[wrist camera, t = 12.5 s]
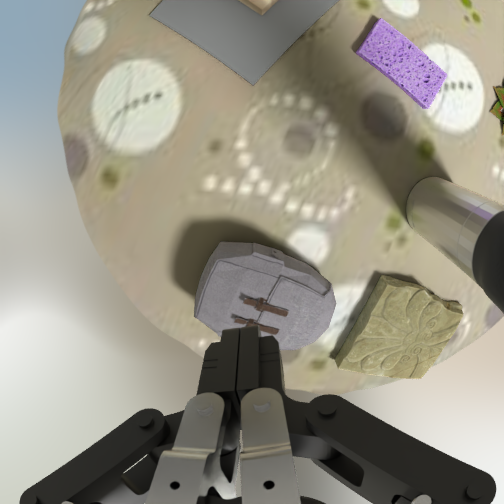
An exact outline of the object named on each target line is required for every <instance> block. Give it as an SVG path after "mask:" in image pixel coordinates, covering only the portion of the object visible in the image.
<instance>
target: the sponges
mask: <svg viewBox="0 0 504 504" xmlns="http://www.w3.org/2000/svg"><path fill="white" fill-rule="evenodd" d="M356 54H357V55H359V56H360V57H362V58H363V59H364V60H366V61H367V62H369V63H370V64H371V65H372V66H374V67H375V68H376V69H378V70H379V71H380V72H381V73H383V74H384V75H385V76H386V77H388V78H389V79H390V80H391V81H393V82H394V83H395V84H396V85H397V86H399V87H400V88H401V89H402V90H403V91H405V92H406V94H408V95H409V96H410V97H411V98H412V99H413V100H414V101H415V102H416V103H417V104H419V105H420V106H421V107H422V108H423V109H429V107H430V105H431V104H432V102H433V100H434V99H435V95H436V94H437V93H438V91H439V90H440V87H441V86H442V84H443V82H444V81H445V79H446V77H447V74H446V73H445V72H444V71H443V70H442V69H441V68H440V67H439V66H438V65H436V64H435V63H434V62H433V61H431V60H430V59H429V57H428V56H427V55H425V54H424V52H423V51H421V50H420V49H419V48H418V47H417V46H415V45H414V44H413V43H412V42H411V41H410V40H408V39H407V38H406V37H405V36H403V35H402V34H401V33H400V32H399V31H398V30H396V29H395V28H394V27H392V26H391V25H390V24H388V23H387V22H386V21H385V20H383V19H382V18H380V19H378V21H377V22H375V24H374V25H373V28H372V29H371V30H370V32H369V34H368V35H367V37H366V39H365V40H364V42H363V43H362V44H361V46H360V47H359V49H358V50H357V52H356Z"/></svg>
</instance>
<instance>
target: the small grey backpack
mask: <svg viewBox="0 0 504 504" xmlns="http://www.w3.org/2000/svg"><path fill="white" fill-rule="evenodd" d="M335 306H336V301H335V296H334V292H333V288H332V284H331V283H330V282H329V281H328V280H327V279H325V278H324V277H323V276H322V275H321V274H319V273H318V272H317V271H316V270H314V269H313V268H312V267H311V266H309V265H308V264H306V263H304V262H302V261H299V260H297V259H295V258H292V257H290V256H288V255H285V254H283V252H282V251H280V250H277V249H275V248H272V247H271V248H270V247H267V246H264V245H260V244H257V243H242V242H222V241H221V242H220V243H219V245H218V246H217V247H216V249H215V250H214V252H213V253H212V255H211V256H210V258H209V259H208V262H207V264H206V266H205V268H204V271H203V273H202V275H201V277H200V281H199V285H198V288H197V292H196V296H195V307H194V317H195V318H197V319H198V320H200V321H201V322H202V323H204V324H205V325H206V326H208V327H209V328H210V329H212V330H213V331H214V332H216V333H217V334H218V336H220V337H221V335H222V330H224V329H232V328H241V327H247V326H255V325H259V327H260V331H261V336H262V337H264V336H271V335H273V336H274V337H275V339H276V340H277V341H278V342H279V347H280V350H296V349H299V348H301V347H304V346H306V345H308V344H311V343H313V342H315V341H316V340H317V339H318V338H319V337H320V336H321V335H322V334H323V333H324V332H325V331H326V330H327V329H328V327H329V324H330V321H331V318H332V315H333V312H334V309H335Z"/></svg>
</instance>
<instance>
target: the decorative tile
mask: <svg viewBox="0 0 504 504" xmlns="http://www.w3.org/2000/svg"><path fill="white" fill-rule="evenodd" d="M462 317H463V312H462V305H461V304H459V303H457V302H454V301H448V302H446V301H443V300H442V299H440V298H439V297H438V296H437V295H433V294H431V293H429V291H428V290H427V288H426V287H421V286H419V285H418V284H414V283H411V282H405V281H401V280H399V279H394V278H393V277H389V276H386V275H381V277H380V279H379V281H378V282H377V284H376V286H375V288H374V290H373V292H372V294H371V296H370V297H369V299H368V301H367V303H366V305H365V307H364V308H363V310H362V312H361V314H360V316H359V317H358V319H357V321H356V323H355V325H354V327H353V328H352V330H351V332H350V334H349V335H348V337H347V339H346V341H345V342H344V344H343V346H342V348H341V349H340V351H339V353H338V354H337V356H336V358H335V362H336V364H337V367H338V369H342V370H347V371H353V372H358V373H364V374H369V375H376V376H385V377H391V378H406V379H420V378H422V377H423V376H424V374H425V373H426V372H427V371H428V369H429V368H430V367H431V366H432V365H433V364H434V362H435V360H436V359H437V357H438V356H439V355H440V353H441V352H442V350H443V349H444V347H445V346H446V344H447V343H448V341H449V339H450V338H451V337H452V335H453V334H454V332H455V331H456V329H457V327H458V325H459V323H460V320H461V319H462Z"/></svg>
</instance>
